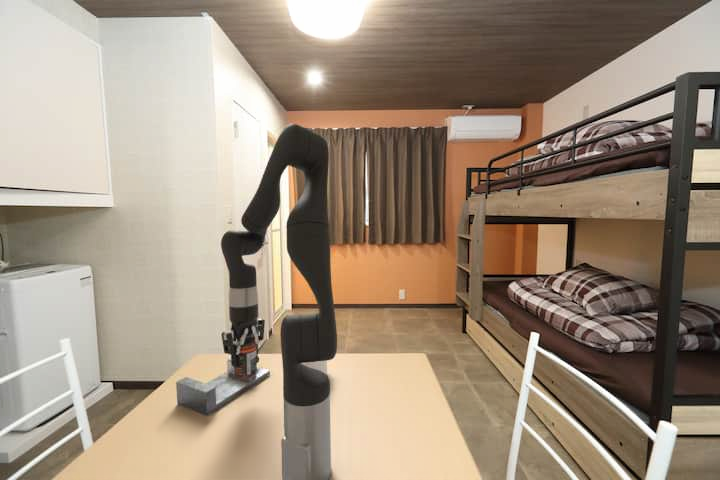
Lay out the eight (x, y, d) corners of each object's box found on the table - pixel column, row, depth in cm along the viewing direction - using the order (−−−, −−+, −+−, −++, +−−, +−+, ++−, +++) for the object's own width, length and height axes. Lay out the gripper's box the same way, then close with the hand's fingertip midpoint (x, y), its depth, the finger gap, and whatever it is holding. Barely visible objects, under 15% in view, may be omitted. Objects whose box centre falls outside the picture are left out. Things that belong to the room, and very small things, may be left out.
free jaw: (248, 380, 100) (248, 365, 100) (227, 373, 104) (226, 359, 104) (268, 367, 108) (268, 353, 108) (248, 362, 112) (247, 348, 112)
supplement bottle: (229, 377, 89) (228, 336, 88) (245, 368, 94) (244, 330, 94) (245, 381, 86) (244, 340, 86) (261, 372, 92) (260, 333, 91)
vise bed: (207, 415, 85) (205, 392, 85) (177, 404, 90) (176, 381, 90) (269, 374, 107) (269, 355, 106) (242, 367, 112) (242, 349, 111)
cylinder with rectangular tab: (322, 383, 101) (322, 346, 100) (295, 381, 103) (294, 344, 102) (329, 369, 110) (329, 335, 109) (304, 367, 111) (303, 333, 110)
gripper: (233, 310, 81) (235, 376, 82) (271, 297, 94) (273, 354, 95) (212, 307, 84) (214, 370, 85) (252, 295, 97) (253, 350, 98)
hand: (245, 361), depth 90 cm, fingers closed on supplement bottle, 6 cm apart
